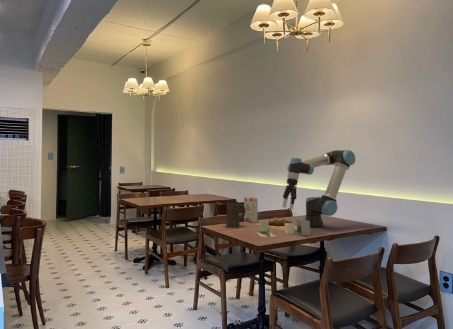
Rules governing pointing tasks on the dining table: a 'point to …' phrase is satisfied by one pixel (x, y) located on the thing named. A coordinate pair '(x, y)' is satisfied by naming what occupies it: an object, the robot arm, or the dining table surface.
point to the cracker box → (251, 209)
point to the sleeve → (289, 228)
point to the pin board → (266, 234)
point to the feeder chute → (303, 227)
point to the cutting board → (279, 224)
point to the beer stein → (234, 214)
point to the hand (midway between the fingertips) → (287, 208)
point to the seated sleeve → (263, 227)
